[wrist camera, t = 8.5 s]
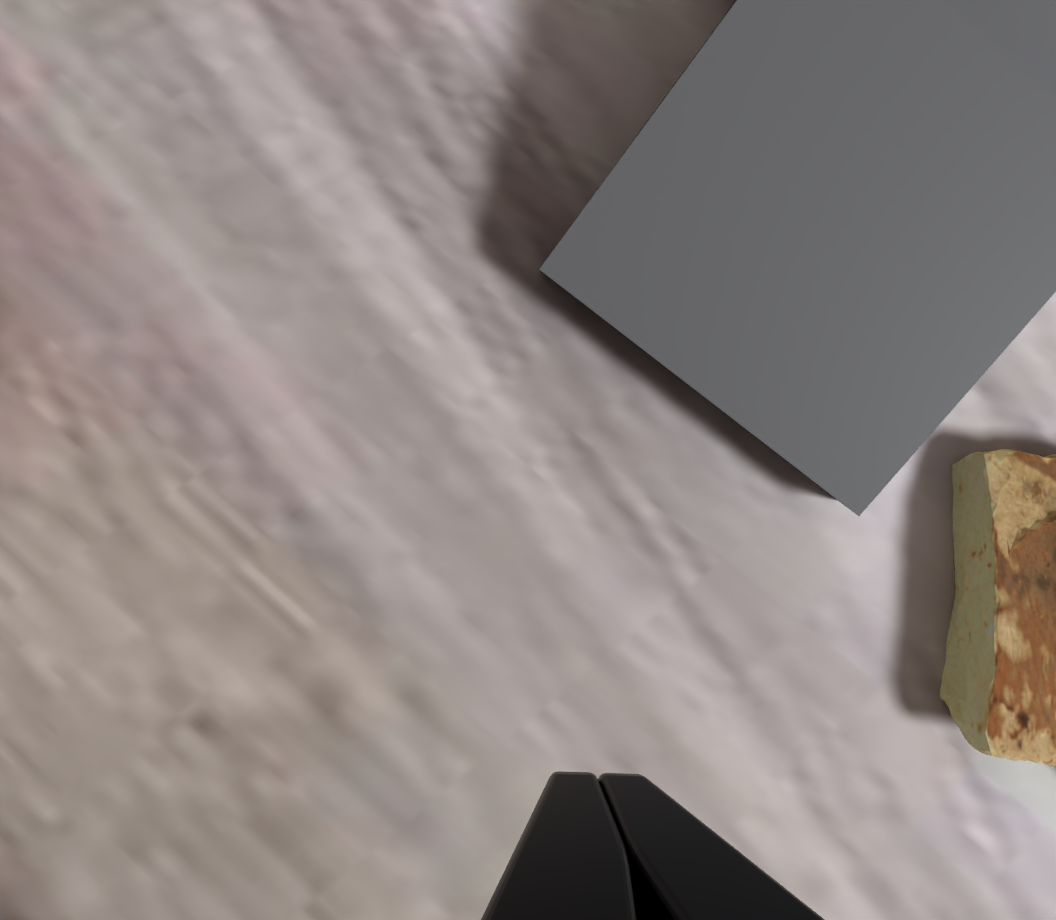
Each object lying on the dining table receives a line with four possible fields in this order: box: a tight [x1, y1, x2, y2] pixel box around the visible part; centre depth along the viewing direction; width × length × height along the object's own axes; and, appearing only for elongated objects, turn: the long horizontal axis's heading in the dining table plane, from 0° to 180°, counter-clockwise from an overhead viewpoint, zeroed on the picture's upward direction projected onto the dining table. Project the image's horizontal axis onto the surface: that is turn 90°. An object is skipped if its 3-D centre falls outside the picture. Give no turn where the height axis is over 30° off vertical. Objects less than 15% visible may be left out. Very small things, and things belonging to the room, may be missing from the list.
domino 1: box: [539, 0, 1056, 516], centre depth 20 cm, size 2×10×10 cm
